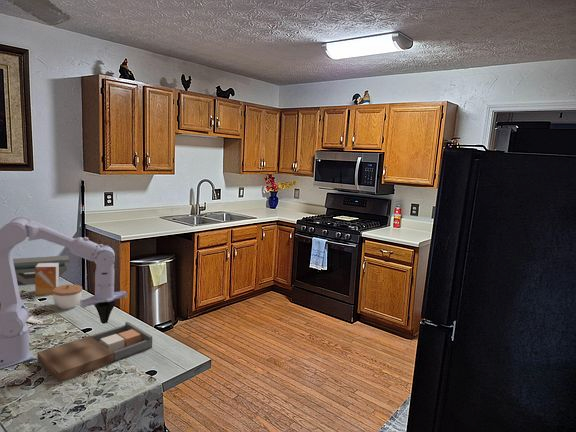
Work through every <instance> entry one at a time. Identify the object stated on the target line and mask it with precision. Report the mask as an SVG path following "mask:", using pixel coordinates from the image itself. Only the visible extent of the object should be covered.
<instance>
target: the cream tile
mask: <svg viewBox="0 0 576 432" xmlns="http://www.w3.org/2000/svg"><path fill="white" fill-rule="evenodd" d="M124 342H125V339H123V338H122V337H120V336H119V335H117V334H114V335H111V336H108V337H105V338H101V339H100V344H102V345H103V346H105V347H106V348H107V349H109V350H110V351H111V352H113V351H116V350H119V349H122V348H124Z"/></svg>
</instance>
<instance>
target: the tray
mask: <svg viewBox="0 0 576 432" xmlns="http://www.w3.org/2000/svg"><path fill="white" fill-rule="evenodd" d="M131 329H134V330H136V331H138V332H139V333H141V334H142V342H139V343H136V344H133V345H131V346H128V347H126V346H124V348H122V349H119V350H116V351H113V353H114V362H113V363H115V362H117V361H119V360H123V359H126V358H128V357H130V356H134V355H136V354H139V353H141V352H143V351H144V352H145V351H146V350H149V349H152V348H153V336H152V335H151V334H149V333H147V332H145V331H144V330H142V329H141V328H139V327H138V326H136V325H133V323H131V322H129V321H126V322H125V323H124V325H122V326H118V327H115V328H111V329H109V330H105V331H102V332H101V331H100V332H99V333H96V334H92V335H90V336H91V337H92V338H94V339H95V340H96V341H98V342H99V343H100V339H101V338H105V337H108V336H111V335H114V334H117V335H119V333H122V332H125V331H128V330H131Z"/></svg>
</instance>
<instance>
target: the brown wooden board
mask: <svg viewBox="0 0 576 432" xmlns="http://www.w3.org/2000/svg"><path fill="white" fill-rule="evenodd" d="M36 358H37V360H36V361H37V362H38V363H39V365H41V366H42V367H43V368H44V369H45V370H46V371H47V372H48V374H50V375H51V376H52V377H53V378H54V379H55V380H56V381H57V382H58V383H62V382H65V381H67V380H69V379H70V380H71V379H73V378H75V377H77V376H80V375H83V374H85V373H88V372H91V371H94V370H96V369H99V368H102V367H104V366H107V365H110V364H113V363H115V362H114V353H113V352H111V351H110V350H109V349H107V348H106V347H105V346H103V345H102V344H100V343H99V342H98V341H96V340H95V339H94V338H92V337H91V335H88V336H85V337H82V338H79V339H75V340H73V341H70V342H66V343H63V344H59V345H56V346H53V347H52V346H51V347H50V348H46V349H43V350H40V351H37V352H36ZM109 363H110V364H109ZM106 364H107V365H106ZM103 365H104V366H103ZM101 366H102V367H101ZM98 367H99V368H98Z"/></svg>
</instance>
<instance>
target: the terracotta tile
mask: <svg viewBox="0 0 576 432" xmlns="http://www.w3.org/2000/svg"><path fill="white" fill-rule="evenodd" d="M119 336H120V337H122V338H123V339H125V342H124V346H126V347H128V346H131V345H133V344H136V343H139V342H142V334H141V333H139V332H138V331H136V330H134V329H131V330H128V331H125V332H122V333H119Z"/></svg>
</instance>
